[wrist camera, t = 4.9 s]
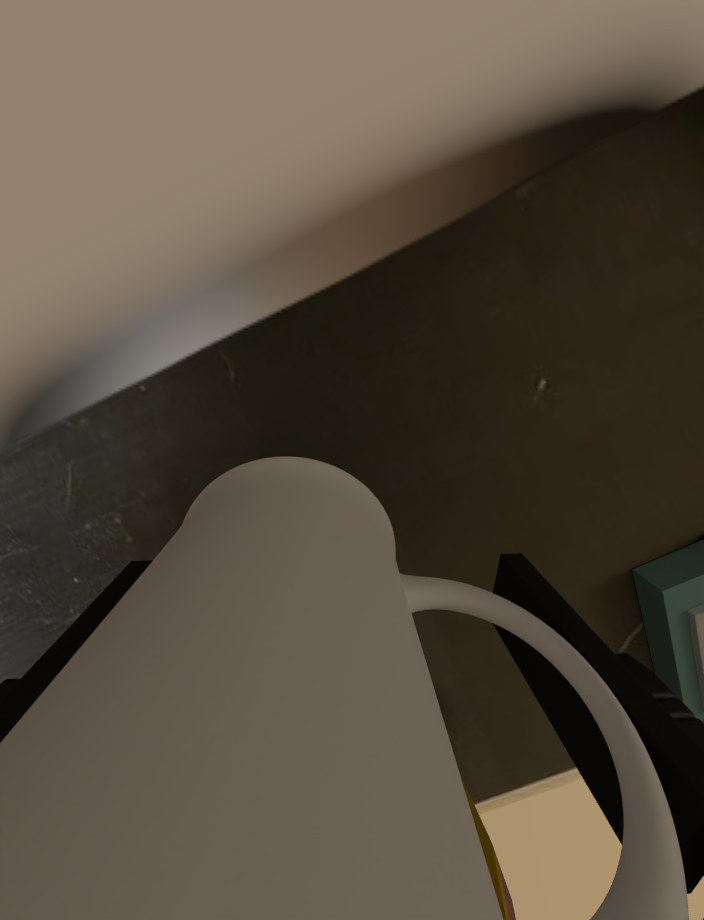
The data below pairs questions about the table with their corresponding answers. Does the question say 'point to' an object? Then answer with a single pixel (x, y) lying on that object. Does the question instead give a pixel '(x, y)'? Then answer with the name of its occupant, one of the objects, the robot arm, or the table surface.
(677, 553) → the scale
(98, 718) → the mug
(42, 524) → the table surface
